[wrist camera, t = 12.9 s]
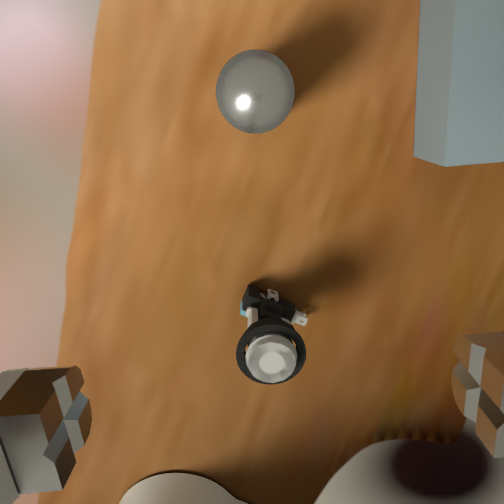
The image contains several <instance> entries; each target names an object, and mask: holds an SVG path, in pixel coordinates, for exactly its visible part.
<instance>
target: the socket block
mask: <svg viewBox="0 0 504 504" xmlns="http://www.w3.org/2000/svg"><path fill="white" fill-rule="evenodd" d="M414 157H417V158H420V159H423V160H426V161H429V162H432V163H435V164H438V165H441V166H444V167H447V166H458V165H470V164H481V163H493V162H504V0H420V21H419V44H418V66H417V89H416V112H415V135H414Z"/></svg>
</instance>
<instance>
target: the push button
mask: <svg viewBox="0 0 504 504" xmlns="http://www.w3.org/2000/svg"><path fill="white" fill-rule="evenodd" d="M271 292H274V293H275V294H273V293H271ZM267 293H268V294H265V293H263V292H260V291H259V289H258V287H256V286H254V285H251V284H249V285H248V287H247V289H246V292H245V294H244V296H243V299H242V301H241V303H240V314H241V315H242V316H245V317H248V329H247V330H246V331H245V333H244V334H243V336H242V337H241V338H240V340H239V342H238V345H237V350H236V359H237V363H238V366H239V368H240V369H241V371H242V372H243V373H244V374H245V375H246V376H247V377H248V378H250V379H251V380H253V381H256V382H258V383H262V384H279V383H283V382H285V381H288V380H290V379H291V378H293V377H294V376H295V375H296V374H298V372H299V371H300V370H301V369H302V367H303V365H304V362H305V359H306V349H305V345H304V342H303V339H302V338H301V336H300V335H299V334H298V333H297V332H296V331H295V329H294V327H293V326H292V325H291V324H290V323H293V324H294V322H295V323H298V324H301V325H306V323H307V321H308V319H307V318H305V317H306V314H305V313H302V312H299V311H297V309H295V305H294V304H292V303H290V302H288V301H285V300H282V299H280V298H279V296H278V292H277V291H274V290H271V289H267ZM300 314H302V315H303V316H299V315H300ZM300 320H302V321H303V322H300ZM292 340H293V341H294V342H295V344H296V349H295V347H294V345H293V343H292ZM247 344H248V349H247V352H245V347H246V345H247Z"/></svg>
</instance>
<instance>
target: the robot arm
mask: <svg viewBox="0 0 504 504" xmlns="http://www.w3.org/2000/svg"><path fill="white" fill-rule="evenodd" d="M454 354H455V356H456V357H457V358H458V359H459V361H460V362H459V363H458V364H457V366H456V367H455V368H454V369H453V370H452V381H451V385H452V390H453V395H454V399H455V401H456V403H457V406H458V408H459V409H460V411H461V412H462V414H463V415H464V416H465V417H467V418H469V419H470V420H472V421H474V422H476V430H475V432H476V434H477V435H478V437H479V438H480V440H481V441H482V442H483V444H484V445H485V447H486V448H487V449H488V451H489V452H490V454H491V455H492V456H493V458H504V331H500V332H490V333H481V334H471V335H461V336H457V338H456V341H455V344H454ZM83 384H84V380H83V376H82V373H81V370H80V369H79V368H78V367H77V366H58V367H42V368H30V369H29V368H24V369H13V370H7V371H3V372H1V373H0V504H12V503H13V502H14V501H15V500H16V499H17V498H19V495H20V494H30V493H39V492H49V491H58V490H63V488H64V486H65V484H66V482H67V480H68V478H69V476H70V474H71V472H72V470H73V468H74V466H75V464H76V460H75V456H74V453H75V452H76V451H77V450H79V449H80V448H81V447H82V446H84V445H85V442H86V440H87V438H88V436H89V433H90V427H91V421H92V416H91V407H90V402H89V399H88V398H87V397H85V396H84V395H83V394H82V393H81V392H80V389H81V387H82V386H83ZM119 504H248V503H245V502H243V501H240V500H237V499H236V498H234V497H233V496H232V495H231V494H230V493H229V492H227V491H226V490H225V489H224V488H223V487H221V486H220V485H218V484H217V483H215V482H213V481H211V480H209V479H206V478H204V477H200V476H197V475H192V474H186V473H167V474H160V475H156V476H152V477H149V478H147V479H144V480H142V481H140V482H139V483H137V484H135V485H134V486H133V487H131V488H130V489H129V490H128V491H127V492H126V494H125V495H124V496H123V498H122V500H121V501H120V503H119Z"/></svg>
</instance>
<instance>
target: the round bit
mask: <svg viewBox="0 0 504 504" xmlns="http://www.w3.org/2000/svg"><path fill="white" fill-rule="evenodd" d="M294 94H295V89H294V81H293V78H292V75H291V73H290V71H289V69H288V67H287V66H286V65H285V63H284V62H283V61H282V60H281V59H280V58H278V57H277V56H276V55H274V54H272V53H270V52H267V51H264V50H247V51H244V52H241V53H239V54H237V55H235V56H234V57H233V58H231V59H230V60H229V61H228V62H227V63H226V64H225V66H224V67H223V69H222V70H221V72H220V75H219V77H218V81H217V86H216V97H217V103H218V106H219V109H220V111H221V113H222V115H223V116H224V118H225V119H226V120H227V121H228V122H229V123H230V124H231V125H232V126H234V127H235V128H237V129H239V130H241V131H243V132H247V133H254V134H256V133H264V132H267V131H270V130H272V129H274V128H275V127H277V126H278V125H280V124H281V123H282V122H283V121H284V120H285V118H286V117H287V115H288V114H289V112H290V110H291V108H292V105H293V101H294Z"/></svg>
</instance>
